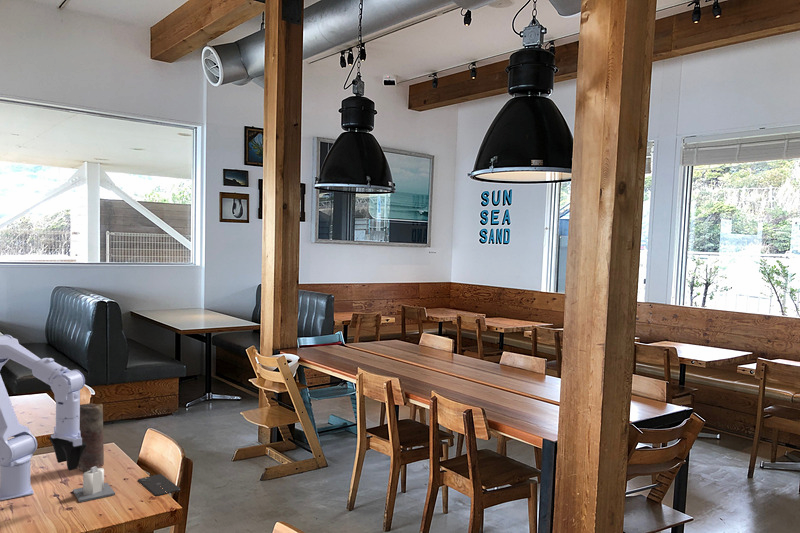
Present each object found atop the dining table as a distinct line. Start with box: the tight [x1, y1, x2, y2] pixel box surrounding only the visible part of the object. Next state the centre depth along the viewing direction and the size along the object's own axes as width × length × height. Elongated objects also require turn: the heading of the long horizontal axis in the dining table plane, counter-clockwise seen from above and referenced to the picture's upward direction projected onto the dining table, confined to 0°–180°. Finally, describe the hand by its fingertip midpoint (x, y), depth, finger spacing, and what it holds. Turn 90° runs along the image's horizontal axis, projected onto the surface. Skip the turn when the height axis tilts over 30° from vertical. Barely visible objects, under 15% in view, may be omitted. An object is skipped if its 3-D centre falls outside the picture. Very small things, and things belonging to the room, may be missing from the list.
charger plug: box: [82, 466, 105, 495], centre depth 175 cm, size 3×6×7 cm, turn 154°
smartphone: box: [137, 473, 181, 497], centre depth 182 cm, size 7×1×15 cm
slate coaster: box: [72, 482, 116, 503], centre depth 175 cm, size 9×9×1 cm
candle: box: [77, 403, 105, 473], centre depth 193 cm, size 8×7×20 cm
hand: (67, 465), depth 170 cm, fingers open, 7 cm apart
